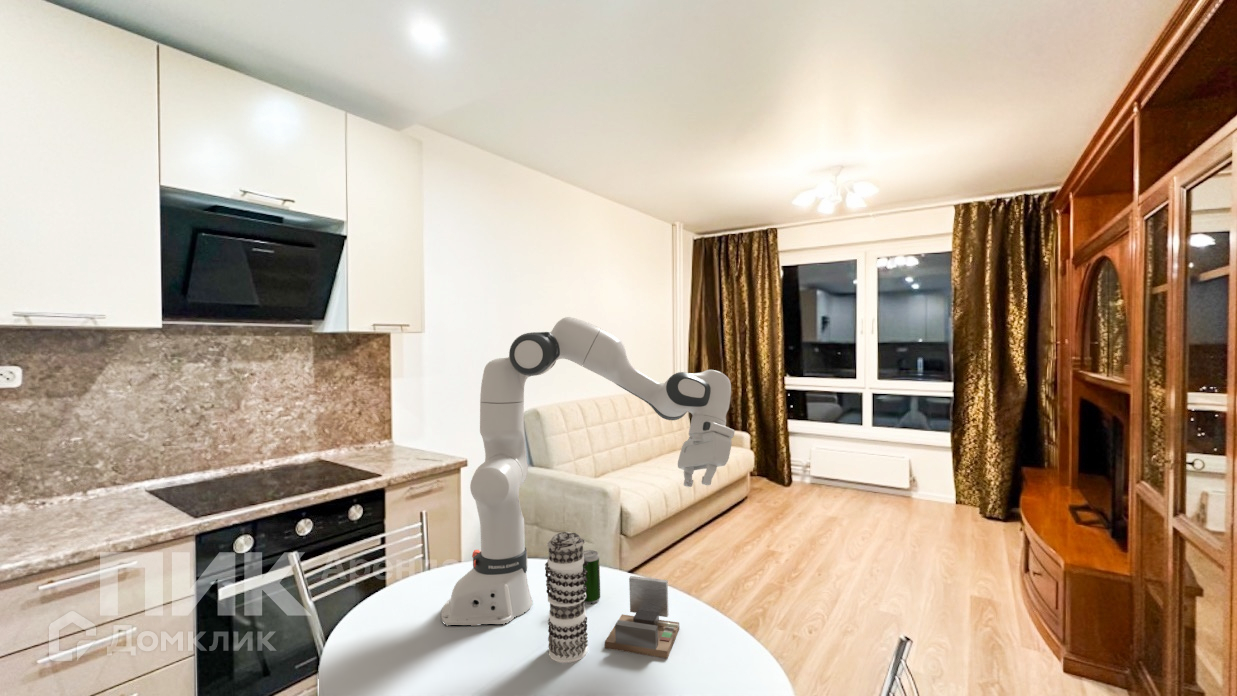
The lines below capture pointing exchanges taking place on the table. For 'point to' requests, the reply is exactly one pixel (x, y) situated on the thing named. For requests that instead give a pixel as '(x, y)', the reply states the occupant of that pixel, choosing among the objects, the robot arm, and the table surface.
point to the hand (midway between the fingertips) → (696, 485)
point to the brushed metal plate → (649, 600)
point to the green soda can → (592, 576)
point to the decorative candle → (566, 598)
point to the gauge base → (656, 653)
